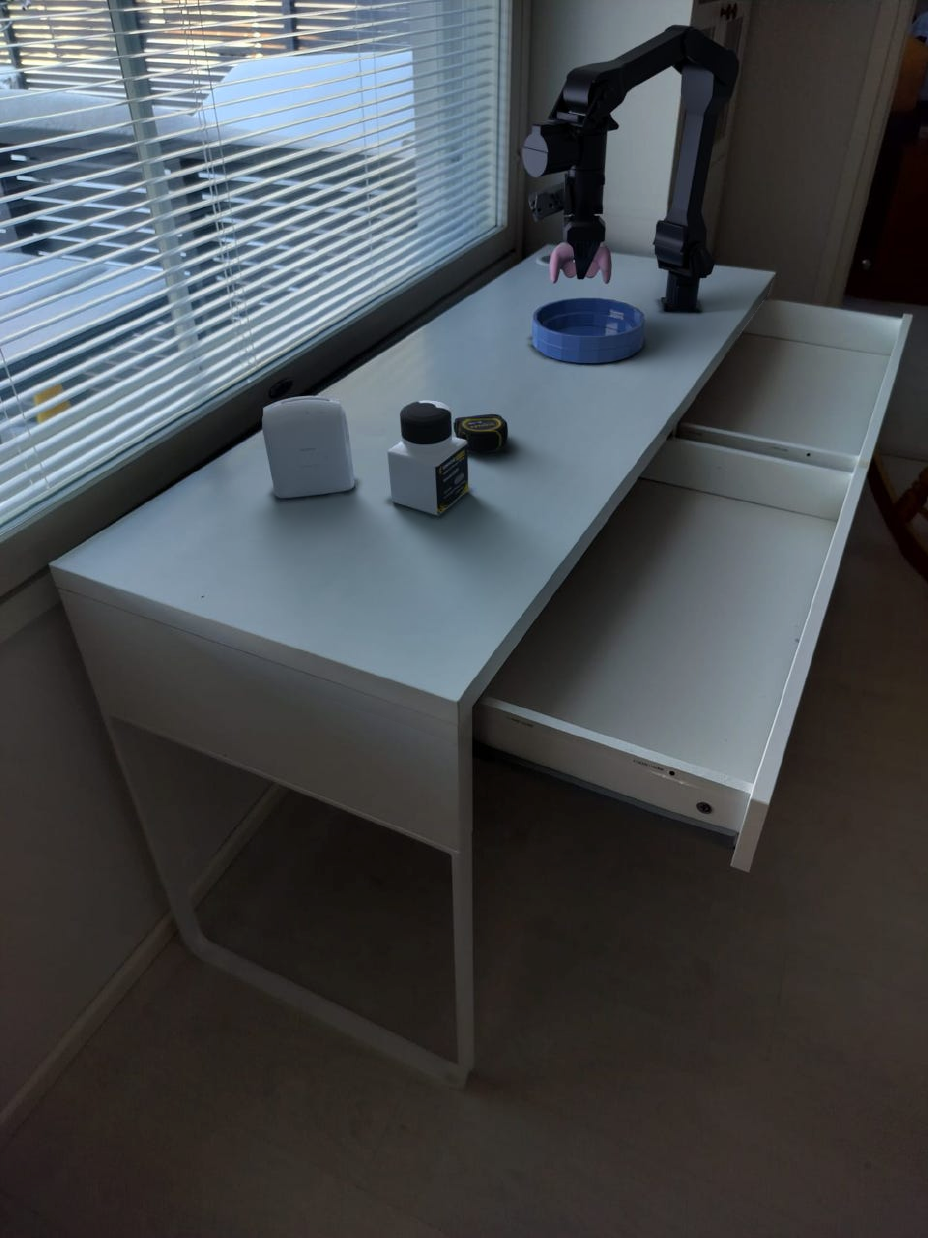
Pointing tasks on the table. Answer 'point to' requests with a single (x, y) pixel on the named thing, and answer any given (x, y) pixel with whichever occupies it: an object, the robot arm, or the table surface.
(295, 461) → the photo printer
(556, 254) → the video game controller
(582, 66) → the robot arm
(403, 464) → the medicine bottle
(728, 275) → the table surface
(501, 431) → the tape measure
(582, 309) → the bowl
